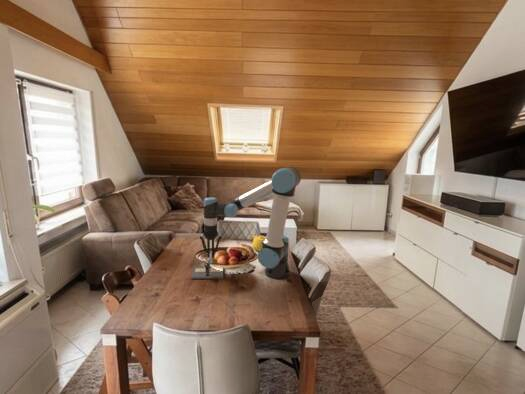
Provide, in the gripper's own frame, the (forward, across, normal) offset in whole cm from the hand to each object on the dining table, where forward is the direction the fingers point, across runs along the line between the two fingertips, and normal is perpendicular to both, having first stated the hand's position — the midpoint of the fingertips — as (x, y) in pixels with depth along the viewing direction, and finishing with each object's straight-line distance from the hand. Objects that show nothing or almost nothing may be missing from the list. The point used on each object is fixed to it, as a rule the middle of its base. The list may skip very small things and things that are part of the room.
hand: (210, 262), depth 182 cm
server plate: (+6, +1, +3) cm, 6 cm away
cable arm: (0, +1, +2) cm, 3 cm away
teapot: (+6, -33, -34) cm, 48 cm away
